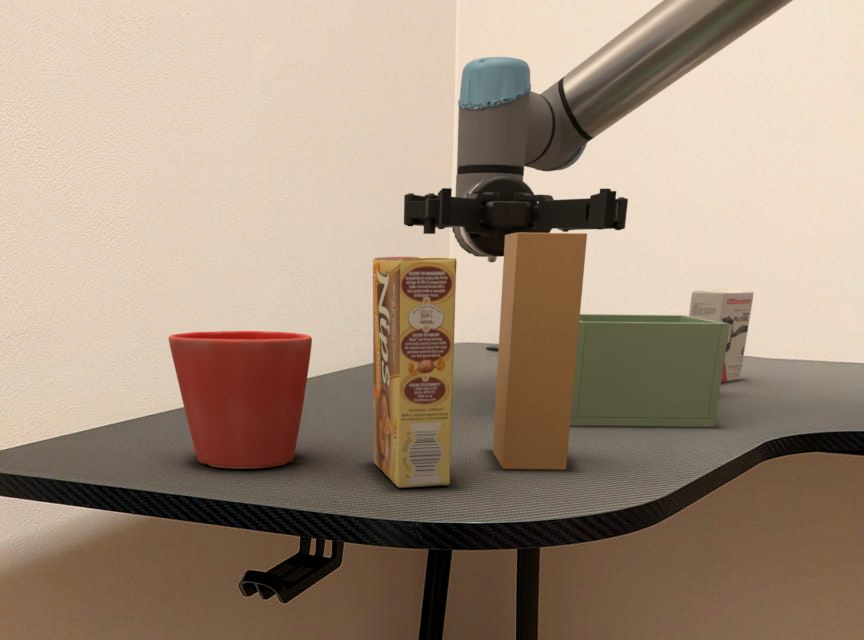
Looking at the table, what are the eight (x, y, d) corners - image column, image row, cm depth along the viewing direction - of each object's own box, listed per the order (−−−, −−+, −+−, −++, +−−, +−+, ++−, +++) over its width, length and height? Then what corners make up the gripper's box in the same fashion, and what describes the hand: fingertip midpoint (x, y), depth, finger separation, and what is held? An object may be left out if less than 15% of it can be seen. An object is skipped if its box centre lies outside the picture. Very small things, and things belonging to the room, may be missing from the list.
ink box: (712, 384, 122) (726, 290, 118) (678, 381, 125) (690, 289, 121) (741, 379, 128) (755, 289, 123) (708, 376, 131) (721, 288, 126)
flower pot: (234, 442, 80) (228, 327, 76) (338, 456, 75) (337, 333, 71) (149, 463, 72) (137, 334, 68) (260, 480, 67) (254, 342, 63)
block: (550, 452, 78) (568, 235, 71) (566, 469, 71) (587, 233, 65) (492, 451, 78) (504, 234, 71) (502, 469, 71) (517, 232, 65)
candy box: (452, 487, 65) (462, 256, 59) (395, 490, 64) (399, 256, 59) (420, 462, 73) (426, 256, 67) (369, 464, 72) (370, 256, 66)
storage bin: (673, 406, 103) (685, 315, 99) (714, 427, 91) (730, 323, 87) (545, 405, 103) (552, 313, 99) (568, 425, 90) (578, 321, 87)
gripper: (612, 258, 96) (671, 259, 77) (377, 254, 96) (377, 254, 77) (620, 179, 93) (684, 159, 74) (378, 175, 93) (378, 154, 74)
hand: (528, 207), depth 75 cm, fingers open, 13 cm apart
